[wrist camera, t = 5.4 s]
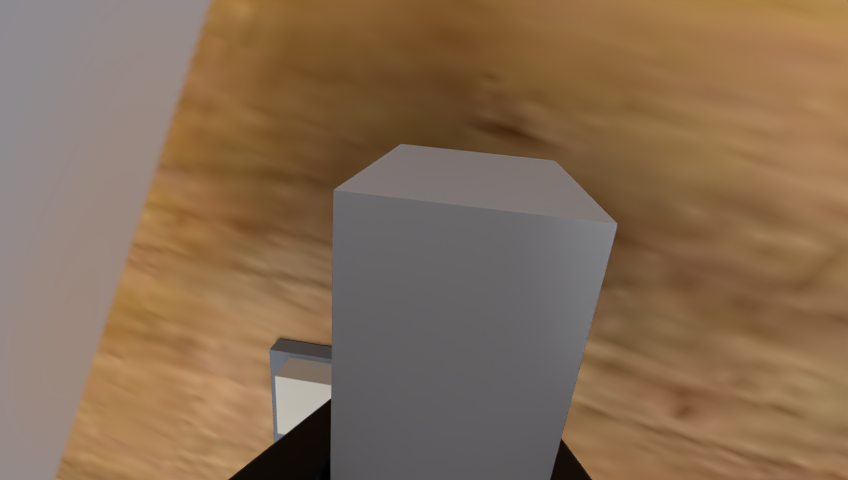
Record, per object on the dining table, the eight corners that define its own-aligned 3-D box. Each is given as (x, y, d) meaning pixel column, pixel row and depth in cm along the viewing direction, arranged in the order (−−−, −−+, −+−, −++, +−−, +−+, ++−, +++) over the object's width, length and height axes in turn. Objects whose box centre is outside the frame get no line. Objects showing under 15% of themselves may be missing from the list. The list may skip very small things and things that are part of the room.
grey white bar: (396, 143, 8) (323, 189, 5) (560, 161, 8) (627, 225, 4) (373, 512, 12) (323, 703, 8) (485, 533, 12) (485, 743, 8)
